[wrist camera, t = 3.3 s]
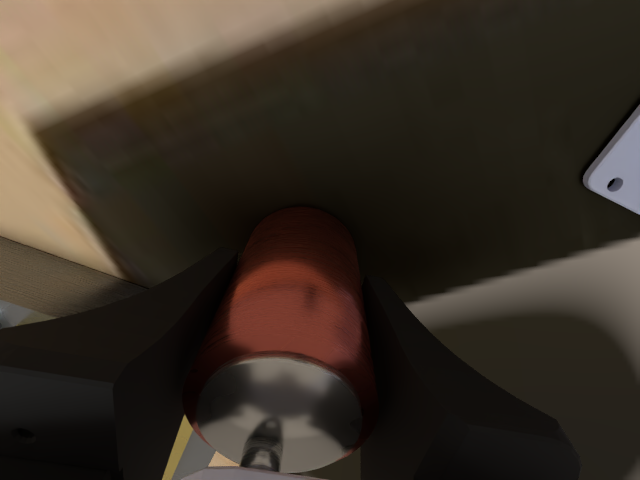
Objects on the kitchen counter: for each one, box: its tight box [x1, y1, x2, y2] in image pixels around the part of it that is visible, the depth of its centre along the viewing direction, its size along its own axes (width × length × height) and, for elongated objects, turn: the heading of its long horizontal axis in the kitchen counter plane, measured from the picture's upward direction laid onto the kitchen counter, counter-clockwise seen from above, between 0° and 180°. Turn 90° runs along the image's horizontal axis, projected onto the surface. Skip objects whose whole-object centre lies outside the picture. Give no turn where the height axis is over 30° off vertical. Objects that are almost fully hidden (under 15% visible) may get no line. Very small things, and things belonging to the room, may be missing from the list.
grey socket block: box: [0, 237, 216, 480], centre depth 15 cm, size 14×9×4 cm, turn 66°
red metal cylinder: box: [182, 207, 379, 473], centre depth 11 cm, size 4×4×8 cm
